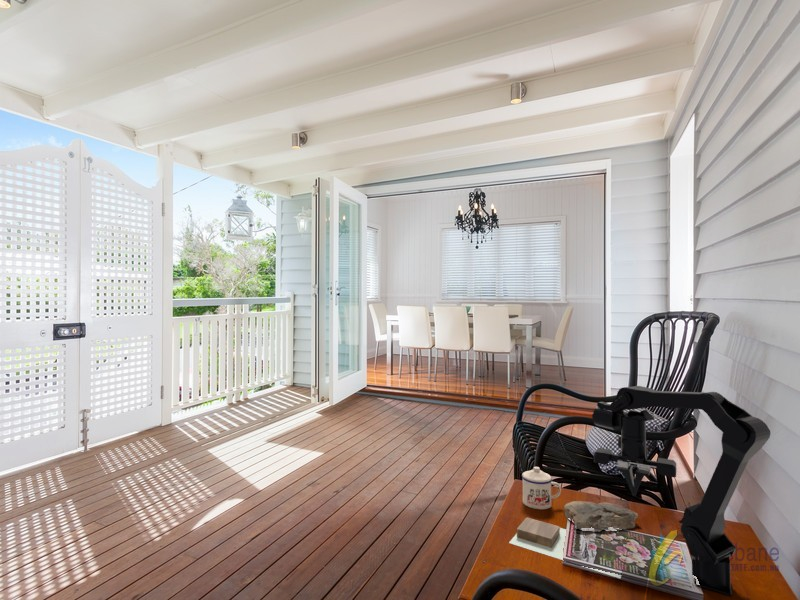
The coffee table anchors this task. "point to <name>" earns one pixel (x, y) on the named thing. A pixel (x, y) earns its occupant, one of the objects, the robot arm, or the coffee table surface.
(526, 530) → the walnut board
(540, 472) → the teacup with lid
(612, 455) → the robot arm
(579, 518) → the grey rock
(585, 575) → the coffee table surface
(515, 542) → the sage mat
